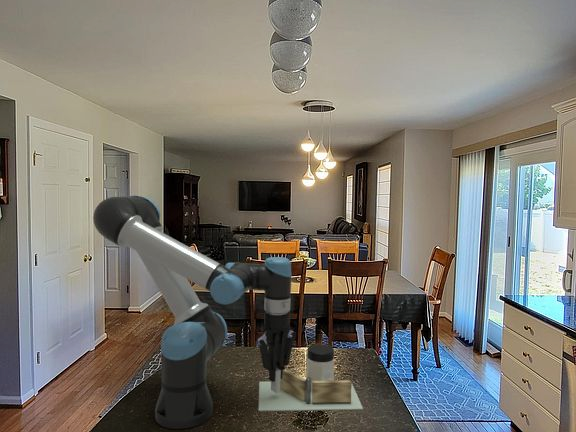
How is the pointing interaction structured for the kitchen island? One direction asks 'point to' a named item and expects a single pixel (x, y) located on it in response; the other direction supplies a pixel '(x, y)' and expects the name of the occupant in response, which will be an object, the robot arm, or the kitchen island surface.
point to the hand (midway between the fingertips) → (275, 390)
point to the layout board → (300, 401)
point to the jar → (320, 363)
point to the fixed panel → (331, 391)
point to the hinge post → (308, 390)
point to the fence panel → (293, 384)
